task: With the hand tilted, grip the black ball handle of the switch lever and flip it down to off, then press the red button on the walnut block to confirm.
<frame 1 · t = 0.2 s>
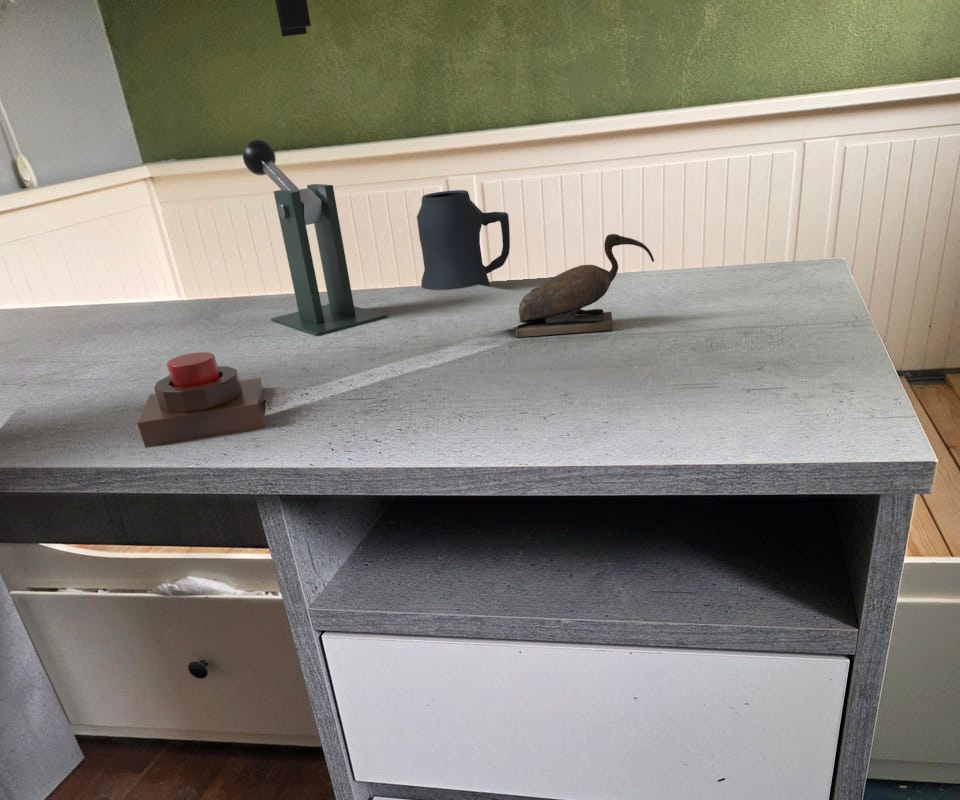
hand: (295, 32, 90), 29 cm above the table, tool pointing down, fingers open, 13 cm apart
button block: (208, 423, 77), on the table
button: (193, 371, 75), point 5 cm above the table, slide at 0.1 cm
figurine: (585, 329, 91), on the table
mug: (467, 291, 112), on the table
lever: (281, 180, 97), point 15 cm above the table, hinge at 25.0°
bracket: (330, 329, 102), on the table
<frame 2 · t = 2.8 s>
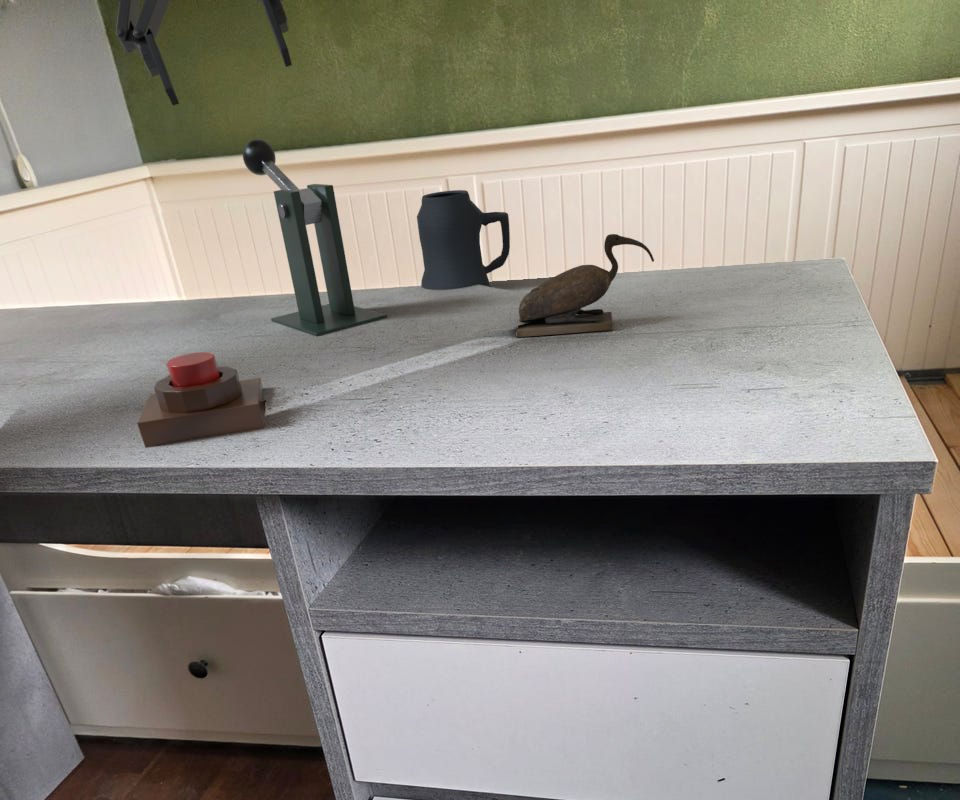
hand: (229, 77, 99), 25 cm above the table, tool tilted 35°, fingers open, 13 cm apart
nothing on the table moved.
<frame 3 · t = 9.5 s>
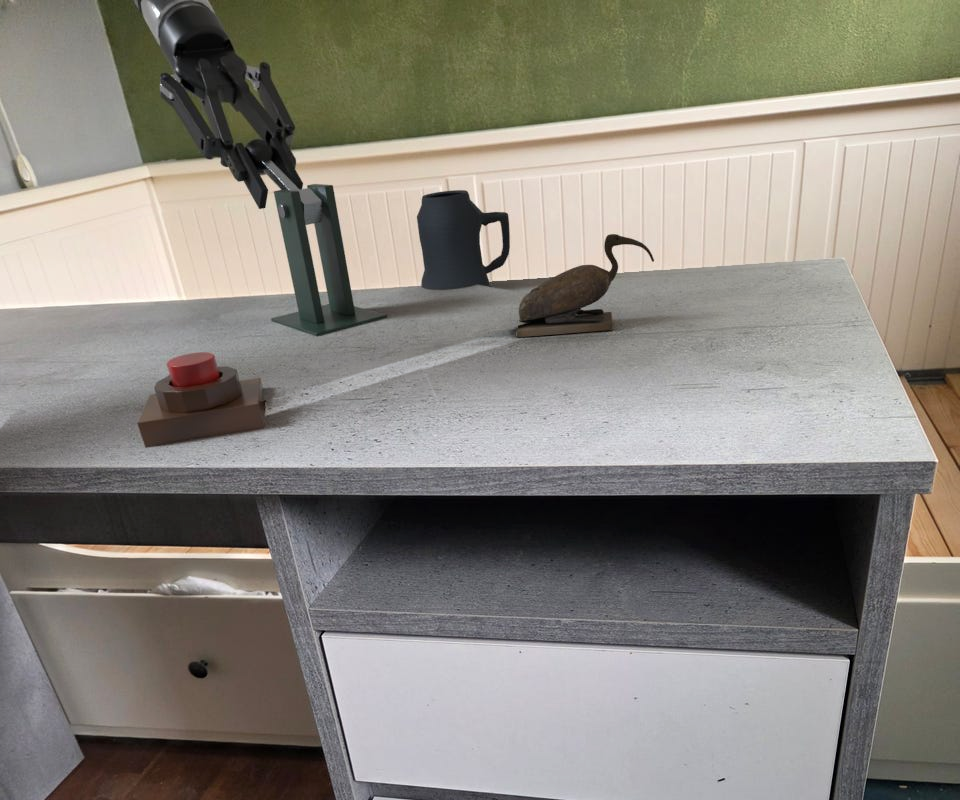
hand: (281, 195, 99), 14 cm above the table, tool tilted 45°, fingers closed on lever, 4 cm apart
lever: (281, 180, 97), point 15 cm above the table, hinge at 25.0°, touching gripper
everything else where it was.
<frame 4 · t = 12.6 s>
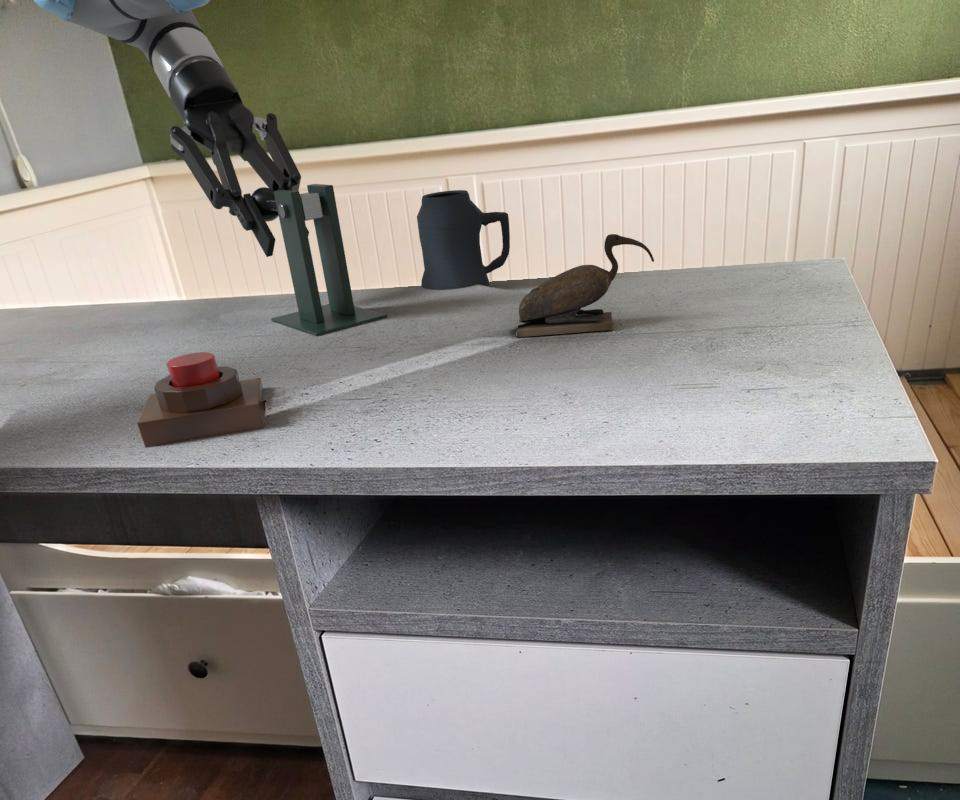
hand: (287, 244, 102), 9 cm above the table, tool tilted 45°, fingers closed on lever, 4 cm apart
lever: (284, 205, 99), point 13 cm above the table, hinge at -1.3°, touching gripper
everything else where it was.
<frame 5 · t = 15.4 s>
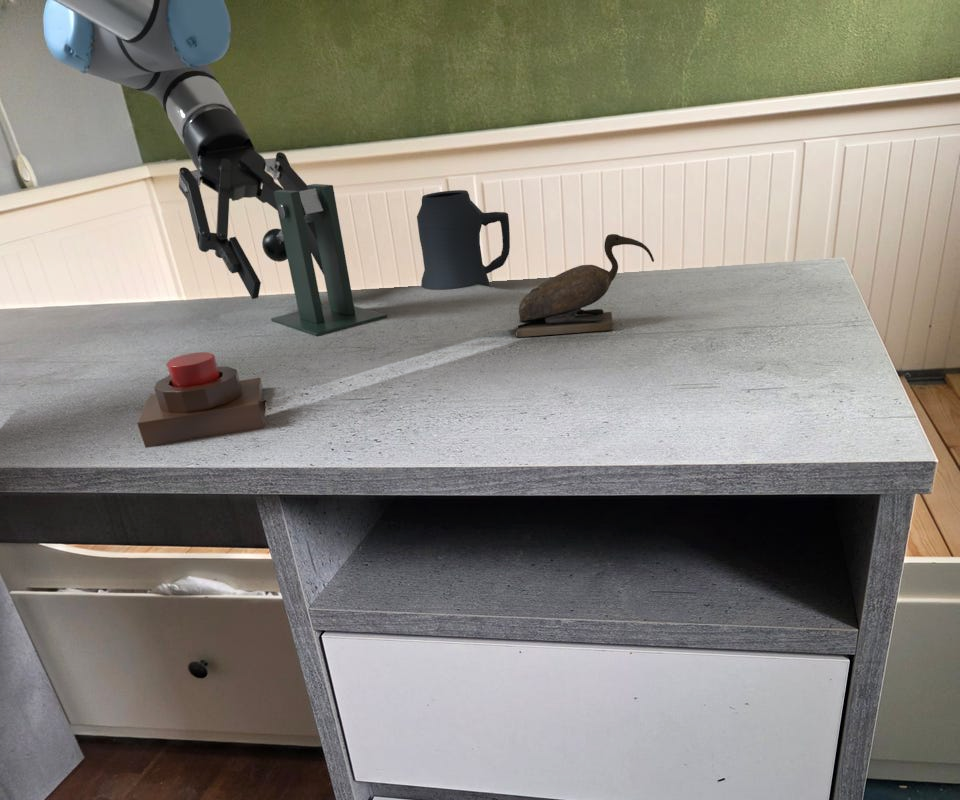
hand: (295, 281, 104), 5 cm above the table, tool tilted 45°, fingers open, 9 cm apart
lever: (291, 227, 100), point 11 cm above the table, hinge at -24.7°
everything else where it was.
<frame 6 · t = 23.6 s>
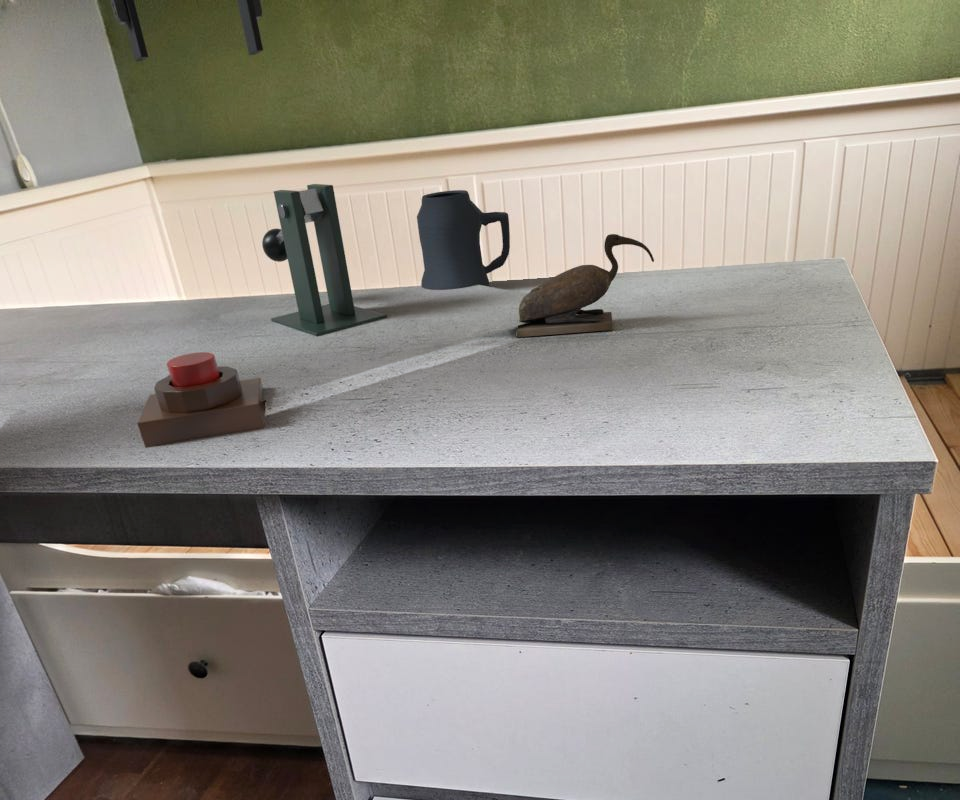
hand: (200, 56, 100), 28 cm above the table, tool pointing down, fingers open, 13 cm apart
nothing on the table moved.
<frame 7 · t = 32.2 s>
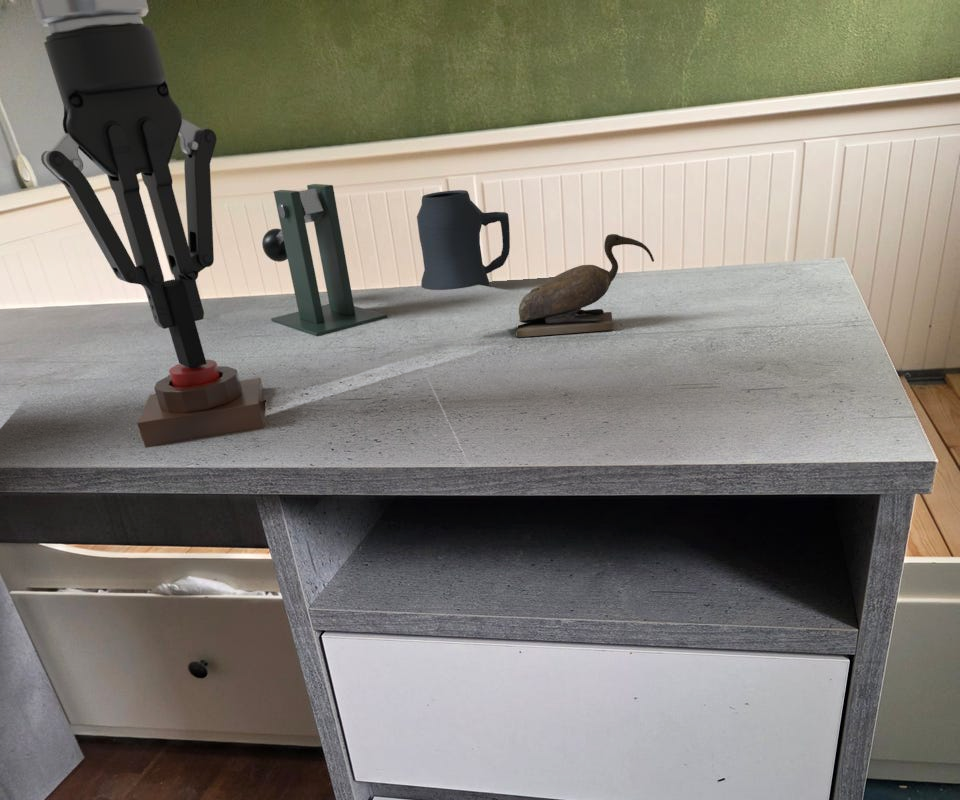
hand: (192, 363, 74), 5 cm above the table, tool pointing down, fingers closed
button: (195, 378, 75), point 4 cm above the table, slide at -0.5 cm, touching gripper
everything else where it was.
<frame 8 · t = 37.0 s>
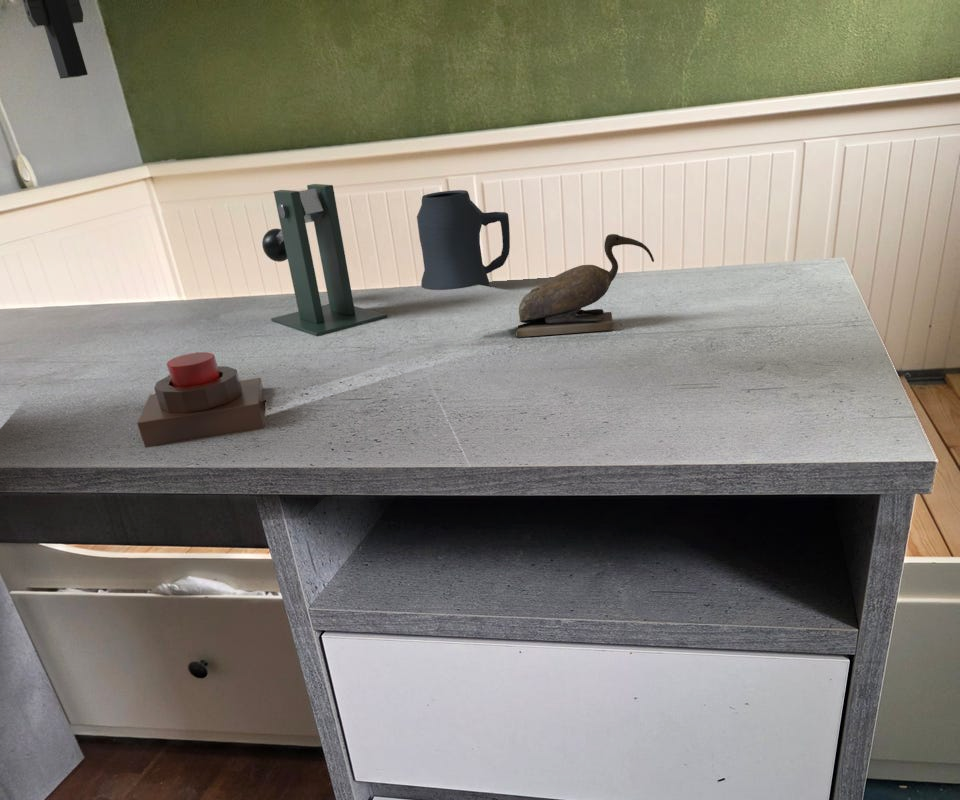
hand: (73, 76, 69), 26 cm above the table, tool pointing down, fingers closed
button: (193, 371, 75), point 5 cm above the table, slide at 0.1 cm
everything else where it was.
at the end: lever at -25° (first picture: +25°); button pushed in 0.7 cm at the most during the clip, back to where it started at the end; button slide at 0.1 cm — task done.
